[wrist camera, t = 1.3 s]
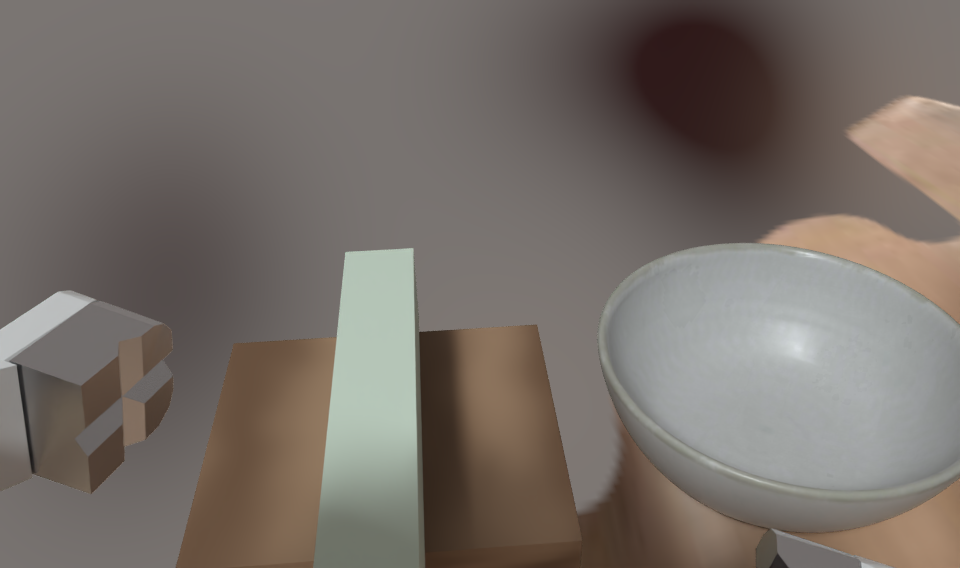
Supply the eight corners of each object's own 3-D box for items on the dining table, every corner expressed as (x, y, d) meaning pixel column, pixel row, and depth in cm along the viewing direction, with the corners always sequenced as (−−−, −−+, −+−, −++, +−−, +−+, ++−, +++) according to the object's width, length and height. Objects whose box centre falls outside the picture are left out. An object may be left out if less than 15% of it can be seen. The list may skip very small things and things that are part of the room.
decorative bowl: (911, 375, 72) (955, 264, 65) (979, 656, 52) (1055, 537, 44) (609, 331, 78) (620, 224, 71) (561, 567, 57) (569, 450, 50)
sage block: (418, 318, 39) (413, 248, 36) (431, 809, 22) (422, 737, 19) (355, 322, 38) (345, 252, 36) (317, 819, 22) (294, 748, 19)
